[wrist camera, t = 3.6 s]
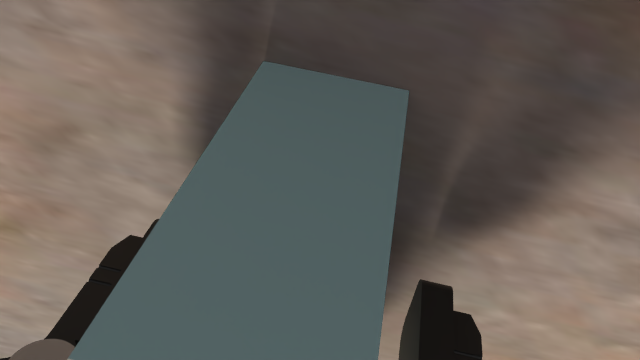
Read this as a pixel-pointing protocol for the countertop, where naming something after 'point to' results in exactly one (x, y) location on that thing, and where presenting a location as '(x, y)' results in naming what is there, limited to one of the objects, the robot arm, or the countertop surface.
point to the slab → (270, 233)
